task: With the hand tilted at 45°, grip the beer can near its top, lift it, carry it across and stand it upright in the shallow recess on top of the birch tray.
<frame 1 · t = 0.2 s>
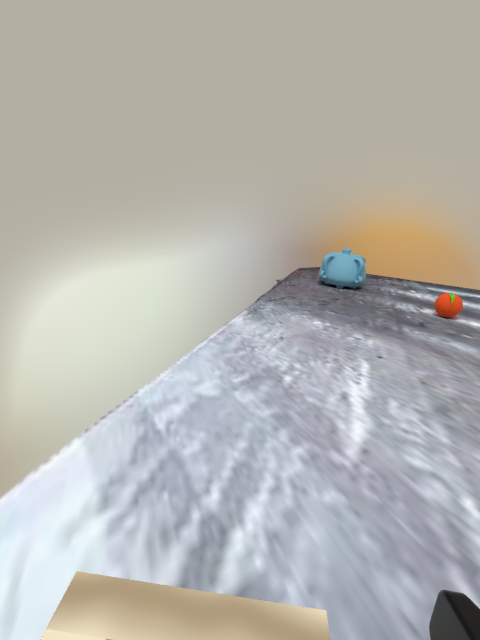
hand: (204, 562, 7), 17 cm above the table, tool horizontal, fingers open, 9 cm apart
decorative pot: (340, 286, 137), on the table
clementine: (445, 318, 105), on the table
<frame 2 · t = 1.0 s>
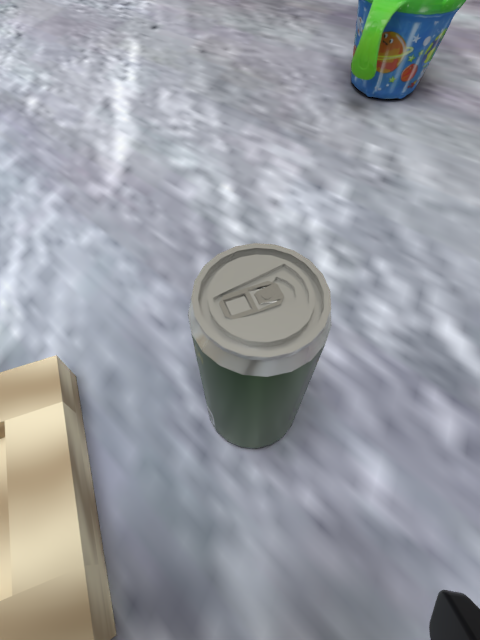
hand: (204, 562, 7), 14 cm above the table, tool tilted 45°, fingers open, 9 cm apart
beer can: (251, 408, 23), on the table
snack cup: (381, 87, 44), on the table
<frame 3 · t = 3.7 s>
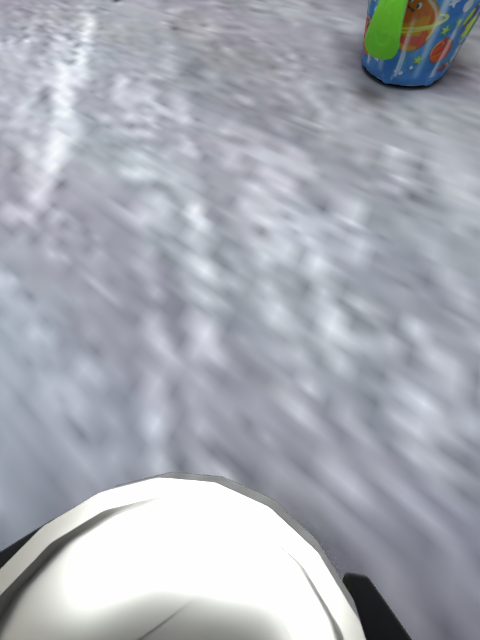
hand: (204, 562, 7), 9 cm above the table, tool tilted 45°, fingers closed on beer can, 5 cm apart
beer can: (215, 596, 14), on the table, touching gripper
snack cup: (400, 72, 35), on the table
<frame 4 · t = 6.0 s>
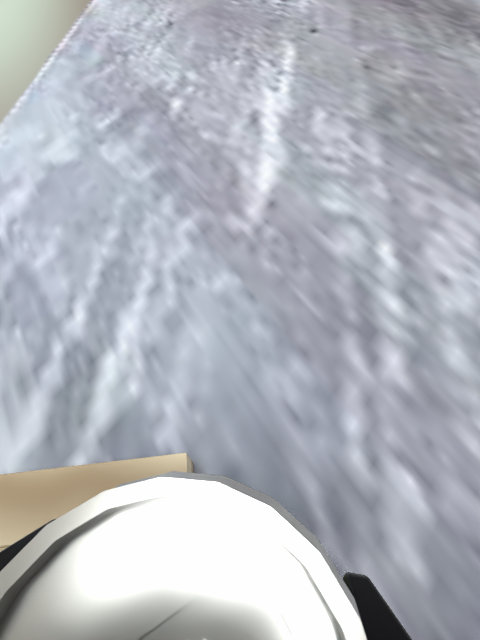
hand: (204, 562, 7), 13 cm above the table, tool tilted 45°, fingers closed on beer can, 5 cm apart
beer can: (216, 594, 14), point 4 cm above the table, touching gripper
when the fingers open (10 cm above the table, at t = 8.4 s): beer can stays where it is, resting on birch tray.
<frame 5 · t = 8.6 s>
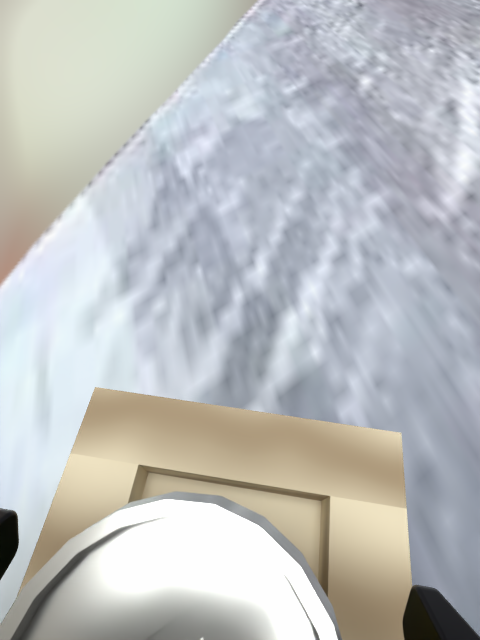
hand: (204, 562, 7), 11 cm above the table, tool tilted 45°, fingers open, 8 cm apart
birch tray: (219, 589, 16), on the table, touching beer can
beer can: (215, 598, 15), point 1 cm above the table, touching birch tray
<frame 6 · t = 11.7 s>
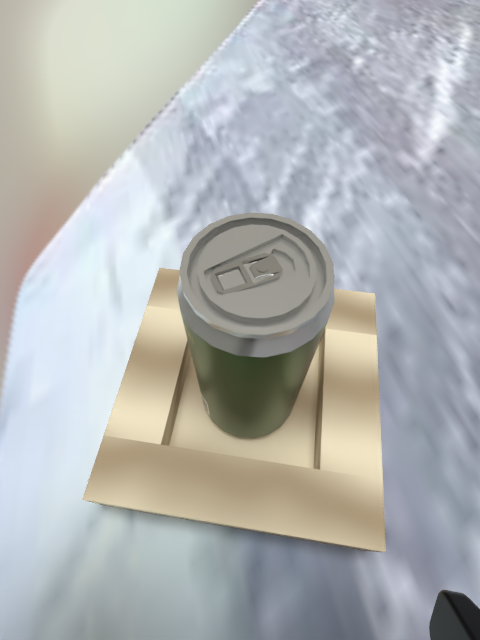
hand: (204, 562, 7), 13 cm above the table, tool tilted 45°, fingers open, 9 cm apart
birch tray: (248, 402, 23), on the table, touching beer can
beer can: (248, 396, 22), point 1 cm above the table, touching birch tray
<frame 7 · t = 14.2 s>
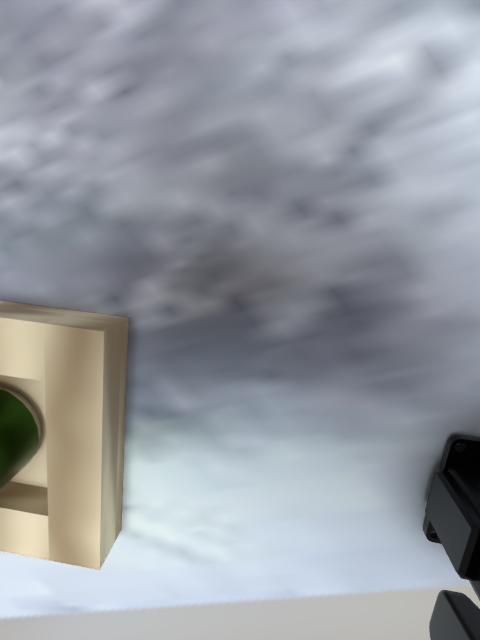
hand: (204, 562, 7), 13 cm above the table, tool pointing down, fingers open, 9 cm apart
birch tray: (20, 409, 23), on the table, touching beer can
beer can: (5, 421, 22), point 1 cm above the table, touching birch tray
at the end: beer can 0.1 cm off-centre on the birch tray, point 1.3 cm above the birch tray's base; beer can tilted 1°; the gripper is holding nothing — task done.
